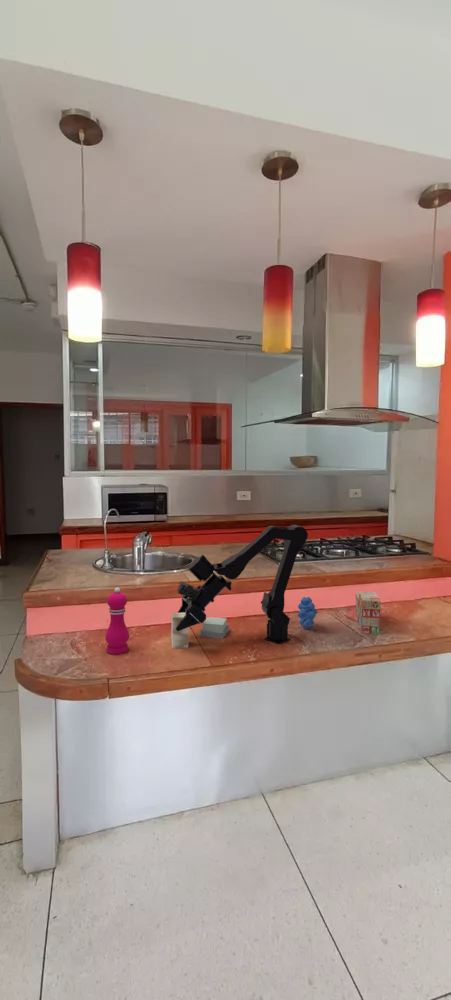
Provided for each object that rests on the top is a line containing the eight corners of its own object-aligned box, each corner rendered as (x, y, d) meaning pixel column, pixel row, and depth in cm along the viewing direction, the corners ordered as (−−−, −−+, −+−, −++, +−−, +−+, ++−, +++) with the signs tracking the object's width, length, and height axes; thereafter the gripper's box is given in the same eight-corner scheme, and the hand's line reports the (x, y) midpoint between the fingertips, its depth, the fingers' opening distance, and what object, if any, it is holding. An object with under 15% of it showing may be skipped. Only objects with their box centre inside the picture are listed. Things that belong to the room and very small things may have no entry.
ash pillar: (186, 642, 154) (186, 612, 154) (188, 647, 149) (188, 616, 149) (171, 643, 153) (171, 613, 153) (172, 648, 149) (172, 617, 148)
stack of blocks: (355, 616, 185) (355, 585, 185) (371, 617, 184) (372, 586, 184) (361, 634, 164) (362, 599, 164) (379, 635, 163) (380, 600, 163)
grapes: (324, 633, 164) (325, 599, 164) (306, 634, 163) (307, 600, 162) (310, 623, 176) (311, 591, 175) (293, 624, 174) (294, 592, 173)
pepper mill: (109, 646, 150) (108, 584, 149) (131, 646, 150) (131, 585, 149) (102, 654, 143) (102, 590, 142) (125, 655, 142) (125, 590, 141)
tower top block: (226, 625, 166) (226, 618, 166) (223, 632, 159) (223, 624, 159) (207, 624, 167) (207, 617, 167) (202, 630, 160) (202, 623, 160)
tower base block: (228, 632, 166) (228, 625, 166) (222, 640, 158) (223, 633, 158) (207, 630, 168) (207, 623, 168) (200, 638, 160) (200, 630, 160)
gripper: (188, 568, 160) (156, 601, 159) (195, 580, 142) (159, 617, 140) (211, 589, 162) (179, 622, 161) (221, 604, 144) (185, 641, 142)
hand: (175, 625), depth 151 cm, fingers open, 9 cm apart
